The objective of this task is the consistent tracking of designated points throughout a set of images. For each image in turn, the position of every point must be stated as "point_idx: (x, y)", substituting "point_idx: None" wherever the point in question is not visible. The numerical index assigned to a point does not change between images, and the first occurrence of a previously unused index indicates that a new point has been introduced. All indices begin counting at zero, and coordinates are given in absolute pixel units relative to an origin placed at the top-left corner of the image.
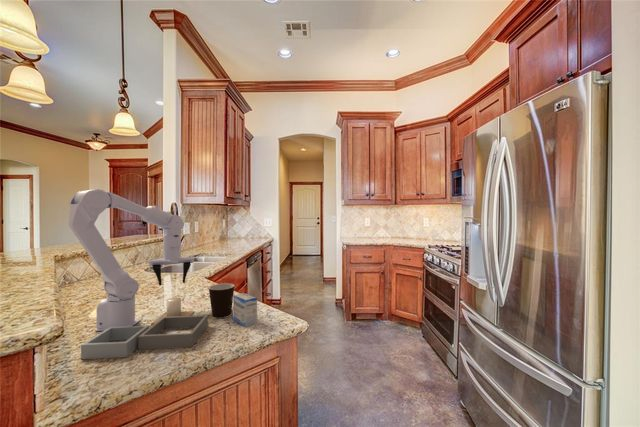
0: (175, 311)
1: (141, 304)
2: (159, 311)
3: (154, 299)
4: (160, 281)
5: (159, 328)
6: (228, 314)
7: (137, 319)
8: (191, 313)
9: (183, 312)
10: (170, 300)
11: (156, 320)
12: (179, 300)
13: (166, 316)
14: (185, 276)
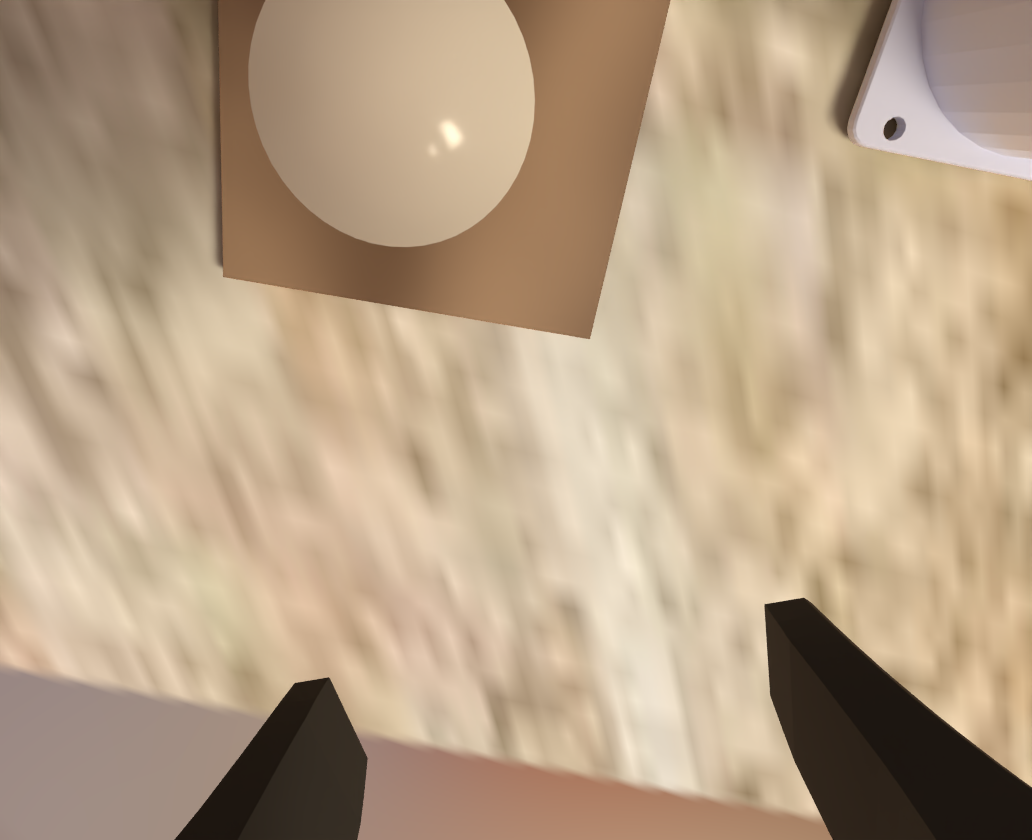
0: None
1: (888, 672)
2: (673, 419)
3: (782, 772)
4: (820, 661)
5: None
6: None
7: (893, 138)
8: (229, 187)
9: (355, 262)
10: (441, 35)
11: (641, 12)
12: (259, 32)
13: (540, 156)
14: (200, 816)
